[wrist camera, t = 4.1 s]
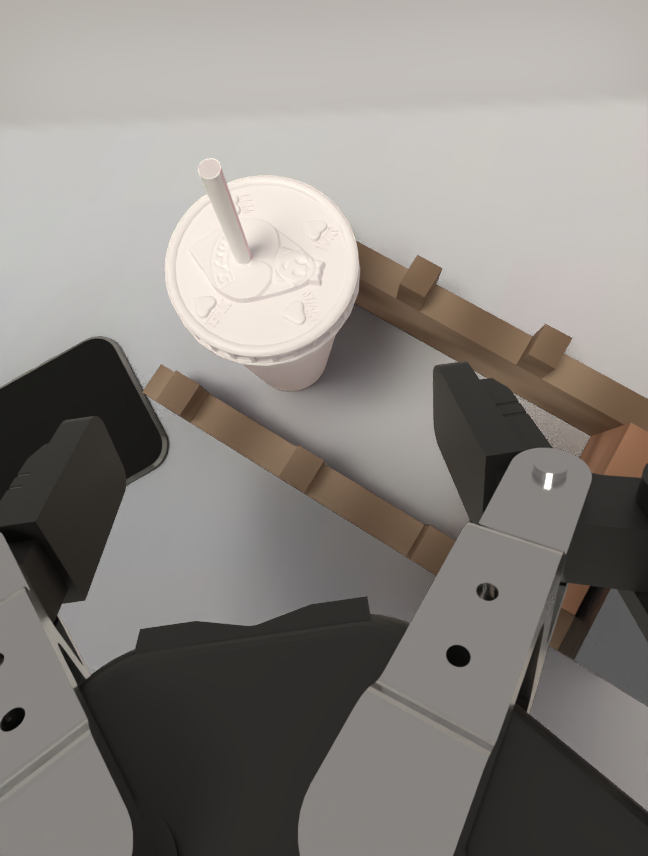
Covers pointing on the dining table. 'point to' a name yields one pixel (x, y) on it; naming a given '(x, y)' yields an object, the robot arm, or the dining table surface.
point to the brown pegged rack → (463, 341)
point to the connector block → (609, 642)
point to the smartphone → (80, 408)
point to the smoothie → (264, 274)
